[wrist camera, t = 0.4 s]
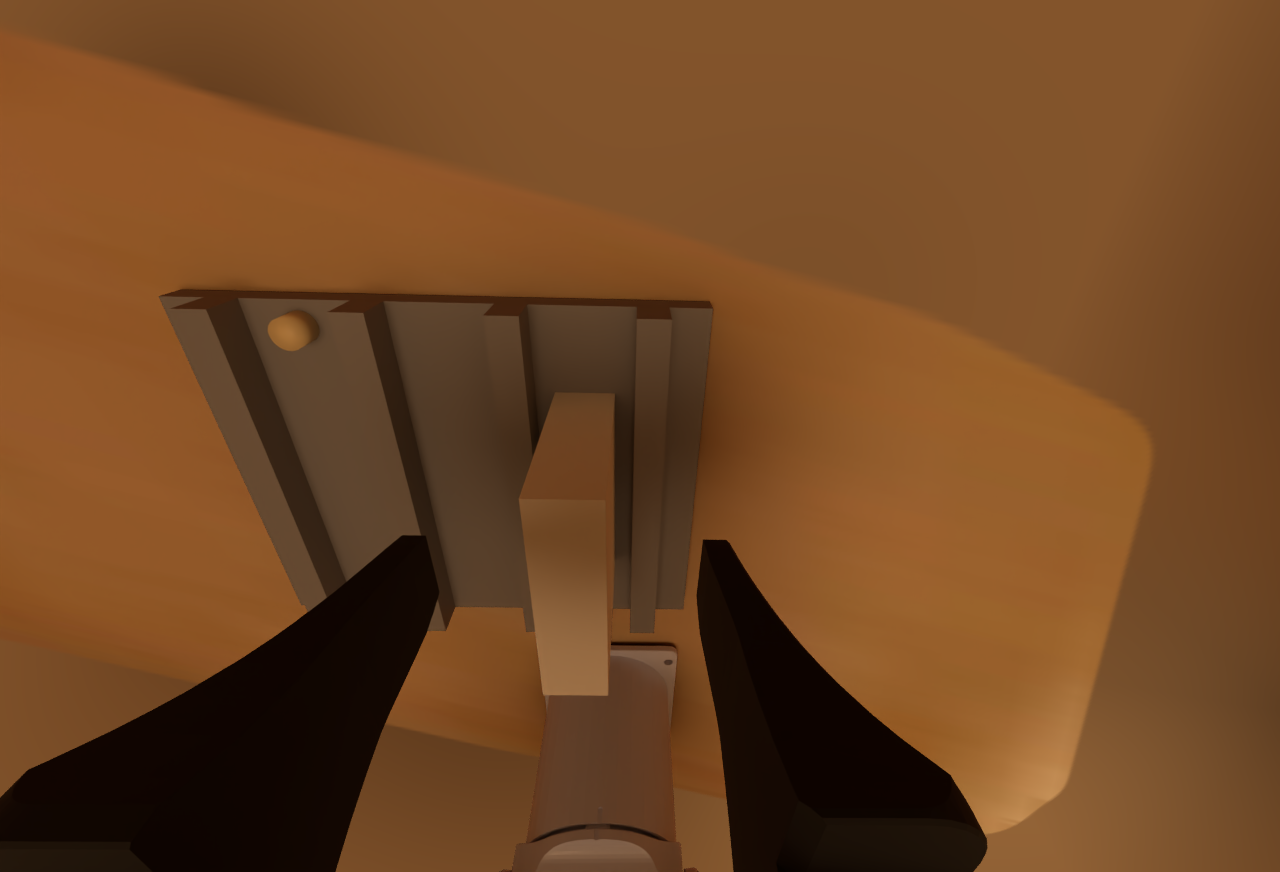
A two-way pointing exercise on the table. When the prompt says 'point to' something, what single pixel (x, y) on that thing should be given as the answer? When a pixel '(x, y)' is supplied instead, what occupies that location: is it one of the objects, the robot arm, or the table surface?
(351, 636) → the robot arm
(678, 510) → the ridged panel
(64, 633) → the table surface
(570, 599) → the picture frame
